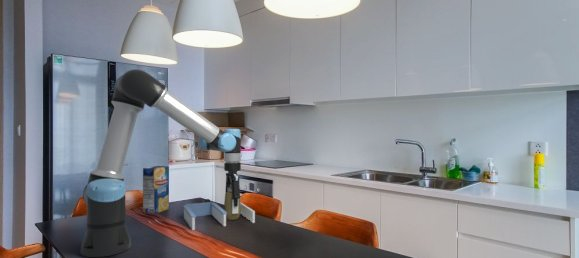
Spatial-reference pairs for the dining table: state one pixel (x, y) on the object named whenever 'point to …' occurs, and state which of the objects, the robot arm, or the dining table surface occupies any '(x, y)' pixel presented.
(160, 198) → the blue food box
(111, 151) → the robot arm
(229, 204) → the squeeze bottle
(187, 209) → the divider rack
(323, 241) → the dining table surface
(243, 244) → the dining table surface
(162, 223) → the dining table surface
